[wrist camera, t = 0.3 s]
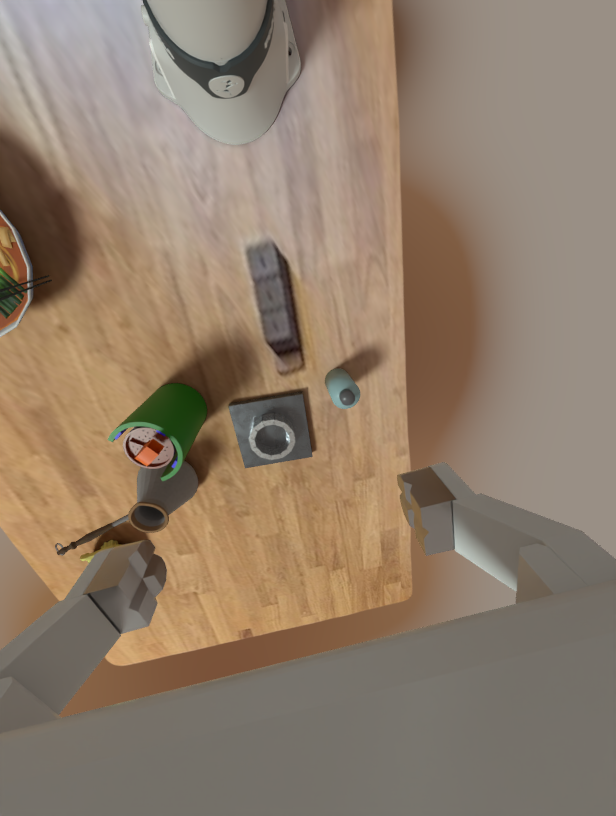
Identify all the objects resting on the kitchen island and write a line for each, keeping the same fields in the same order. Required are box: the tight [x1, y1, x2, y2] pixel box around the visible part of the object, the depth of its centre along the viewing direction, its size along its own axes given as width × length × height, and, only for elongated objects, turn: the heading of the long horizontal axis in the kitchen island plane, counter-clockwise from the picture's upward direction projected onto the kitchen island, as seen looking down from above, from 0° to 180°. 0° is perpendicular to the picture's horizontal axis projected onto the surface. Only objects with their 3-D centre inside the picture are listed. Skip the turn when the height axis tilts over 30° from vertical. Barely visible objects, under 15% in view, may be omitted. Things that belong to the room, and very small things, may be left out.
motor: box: [108, 383, 207, 481], centre depth 47 cm, size 10×9×20 cm
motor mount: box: [229, 392, 312, 468], centre depth 58 cm, size 14×14×4 cm
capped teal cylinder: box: [325, 368, 360, 409], centre depth 53 cm, size 5×5×10 cm
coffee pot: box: [55, 461, 198, 555], centre depth 55 cm, size 21×12×15 cm, turn 106°
